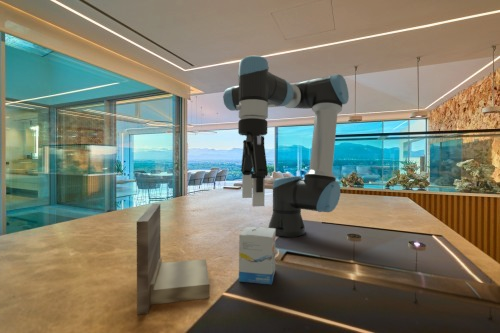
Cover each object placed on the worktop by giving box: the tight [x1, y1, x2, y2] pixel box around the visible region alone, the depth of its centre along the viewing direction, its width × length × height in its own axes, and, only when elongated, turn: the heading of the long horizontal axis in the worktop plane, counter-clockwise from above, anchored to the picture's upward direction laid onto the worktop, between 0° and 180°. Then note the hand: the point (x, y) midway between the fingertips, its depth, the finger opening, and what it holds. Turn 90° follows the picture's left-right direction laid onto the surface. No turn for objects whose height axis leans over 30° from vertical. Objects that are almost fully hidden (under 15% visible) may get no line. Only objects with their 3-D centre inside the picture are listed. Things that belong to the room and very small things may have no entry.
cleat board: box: [136, 203, 211, 316], centre depth 59 cm, size 14×20×18 cm
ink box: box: [238, 226, 277, 285], centre depth 65 cm, size 9×8×12 cm
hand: (252, 201), depth 65 cm, fingers open, 13 cm apart
